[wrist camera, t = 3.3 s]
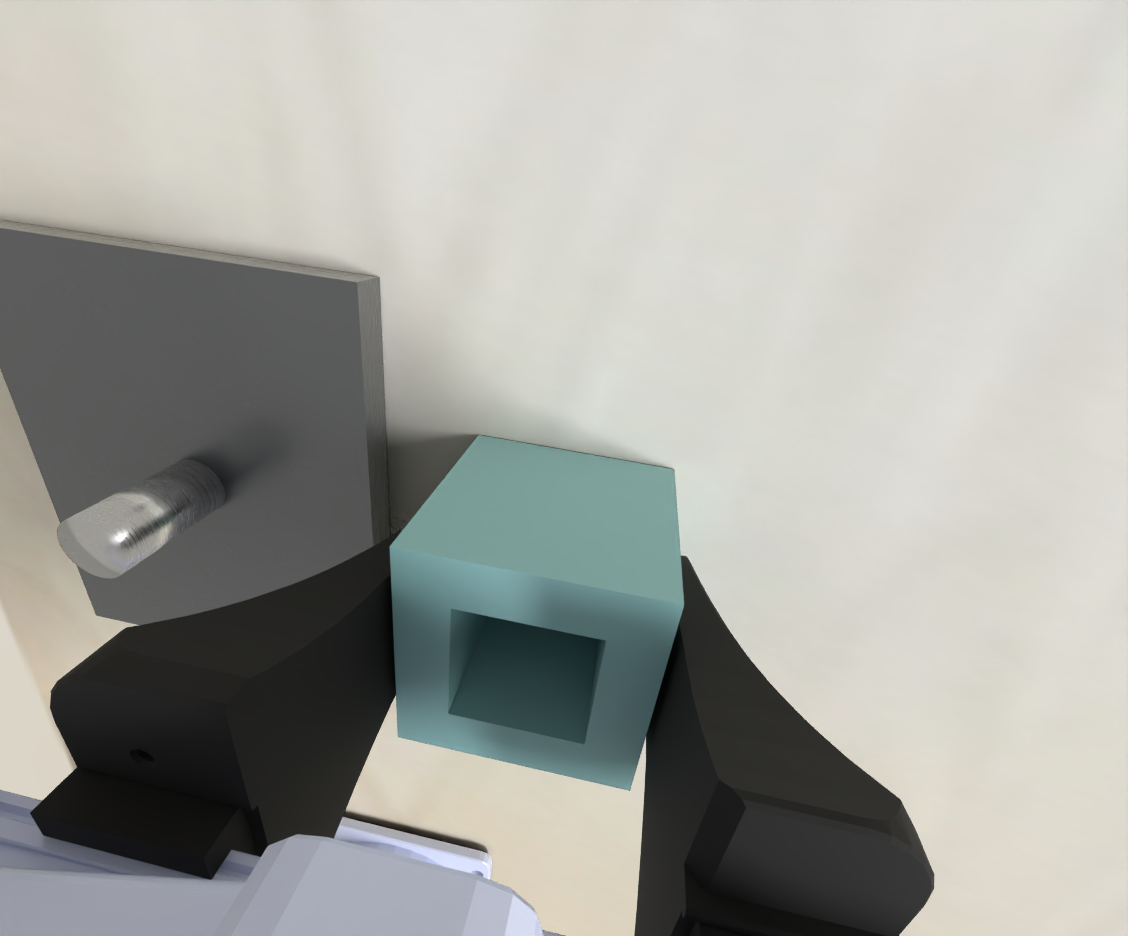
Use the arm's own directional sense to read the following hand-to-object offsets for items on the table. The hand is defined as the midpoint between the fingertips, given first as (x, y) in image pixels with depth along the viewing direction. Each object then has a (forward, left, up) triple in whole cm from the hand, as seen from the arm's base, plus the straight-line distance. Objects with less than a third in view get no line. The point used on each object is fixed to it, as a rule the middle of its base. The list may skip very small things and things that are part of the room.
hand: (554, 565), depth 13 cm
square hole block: (0, 0, -1) cm, 1 cm away
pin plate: (0, +10, -1) cm, 10 cm away
